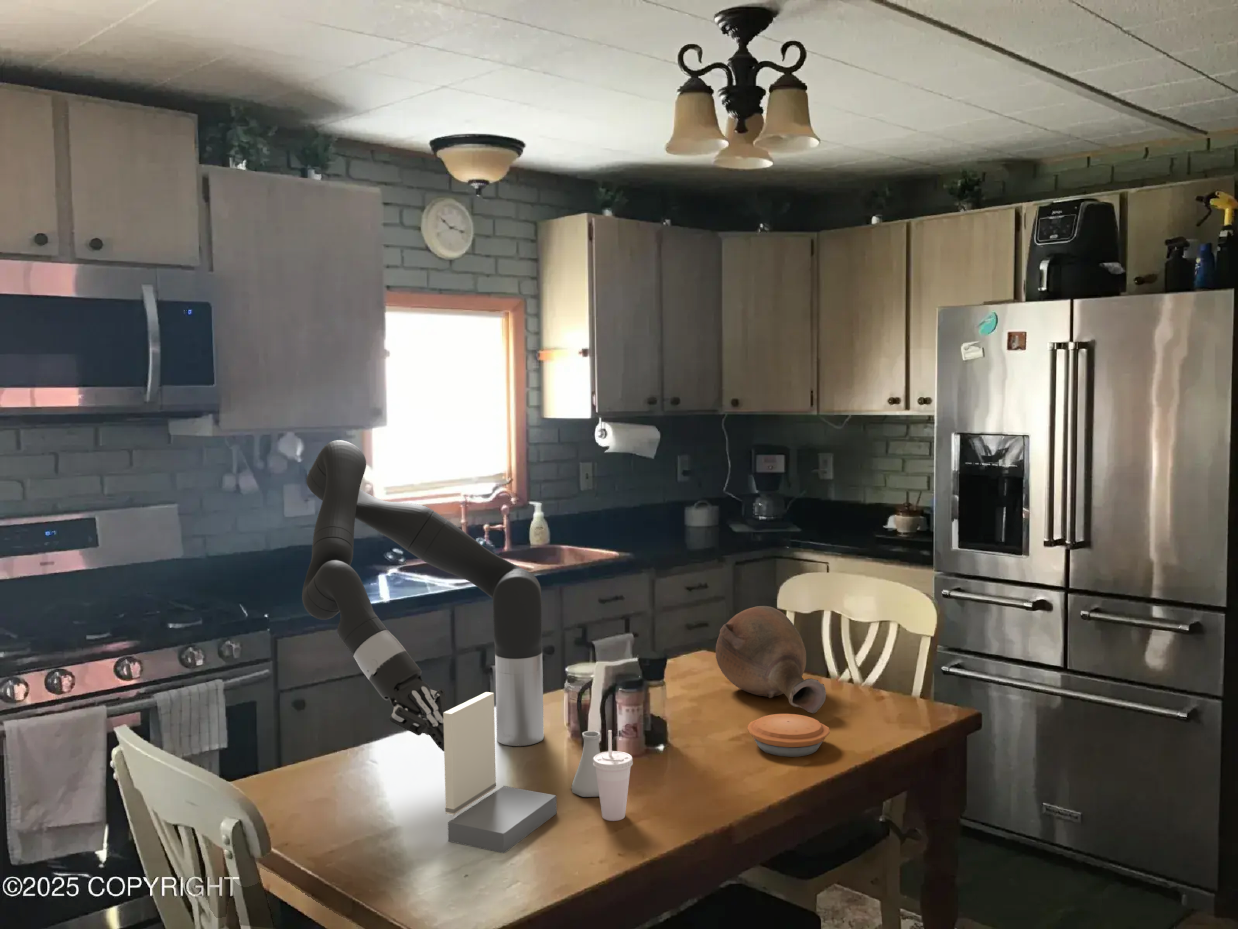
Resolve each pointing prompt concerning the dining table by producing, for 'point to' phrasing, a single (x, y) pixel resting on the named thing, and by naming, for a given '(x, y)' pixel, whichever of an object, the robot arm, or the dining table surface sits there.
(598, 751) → the flask
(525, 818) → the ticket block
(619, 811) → the smoothie
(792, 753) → the pie
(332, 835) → the dining table surface
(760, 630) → the jug
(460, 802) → the panel
